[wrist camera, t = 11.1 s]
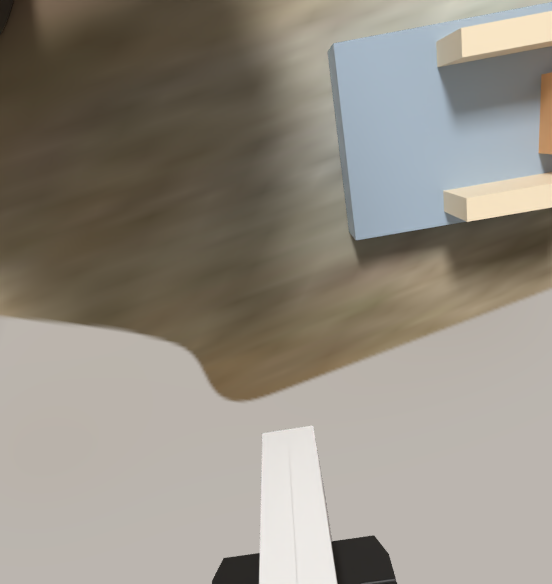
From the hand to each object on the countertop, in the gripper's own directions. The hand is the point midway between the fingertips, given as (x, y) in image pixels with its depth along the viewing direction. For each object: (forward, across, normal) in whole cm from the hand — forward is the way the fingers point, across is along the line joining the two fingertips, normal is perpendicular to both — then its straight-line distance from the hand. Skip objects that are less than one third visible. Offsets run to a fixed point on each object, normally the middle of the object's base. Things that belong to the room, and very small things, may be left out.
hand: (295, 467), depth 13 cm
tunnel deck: (+24, +20, +8) cm, 32 cm away
